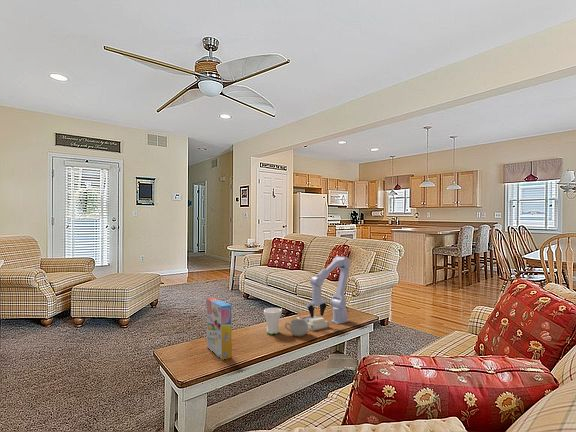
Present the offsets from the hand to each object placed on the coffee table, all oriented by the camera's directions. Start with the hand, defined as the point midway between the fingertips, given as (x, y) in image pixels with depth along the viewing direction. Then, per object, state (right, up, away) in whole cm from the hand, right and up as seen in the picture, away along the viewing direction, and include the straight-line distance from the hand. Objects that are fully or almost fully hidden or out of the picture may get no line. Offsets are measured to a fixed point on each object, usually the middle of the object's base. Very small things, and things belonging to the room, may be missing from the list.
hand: (317, 316), depth 214 cm
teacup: (-14, -8, -12) cm, 20 cm away
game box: (-56, -8, -38) cm, 68 cm away
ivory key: (0, -4, 0) cm, 4 cm away
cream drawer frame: (-3, -7, +5) cm, 9 cm away
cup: (-28, -8, -9) cm, 30 cm away
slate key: (-3, -5, +5) cm, 8 cm away
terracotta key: (-6, -5, +10) cm, 13 cm away
